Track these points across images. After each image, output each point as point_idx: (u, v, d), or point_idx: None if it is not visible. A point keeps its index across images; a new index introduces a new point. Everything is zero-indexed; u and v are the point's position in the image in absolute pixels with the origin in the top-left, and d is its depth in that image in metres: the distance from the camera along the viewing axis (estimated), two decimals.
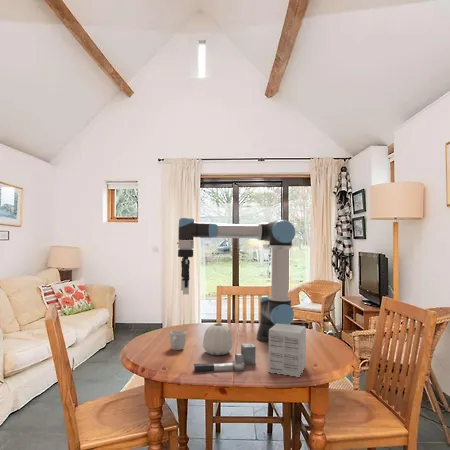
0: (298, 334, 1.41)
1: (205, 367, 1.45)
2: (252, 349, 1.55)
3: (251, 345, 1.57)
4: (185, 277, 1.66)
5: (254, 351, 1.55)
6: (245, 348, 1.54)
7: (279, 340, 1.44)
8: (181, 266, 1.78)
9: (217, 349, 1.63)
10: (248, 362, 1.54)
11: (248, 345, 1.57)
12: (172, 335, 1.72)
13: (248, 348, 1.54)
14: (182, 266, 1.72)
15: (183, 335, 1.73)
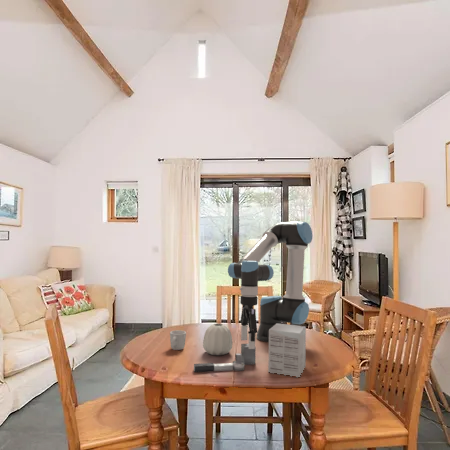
0: (298, 334, 1.41)
1: (205, 367, 1.45)
2: (252, 349, 1.55)
3: None
4: (253, 330, 1.47)
5: (254, 351, 1.55)
6: (245, 348, 1.54)
7: (279, 340, 1.44)
8: (243, 314, 1.60)
9: (217, 349, 1.63)
10: (248, 362, 1.54)
11: (248, 345, 1.57)
12: (172, 335, 1.72)
13: (248, 348, 1.54)
14: (247, 316, 1.54)
15: (183, 335, 1.73)
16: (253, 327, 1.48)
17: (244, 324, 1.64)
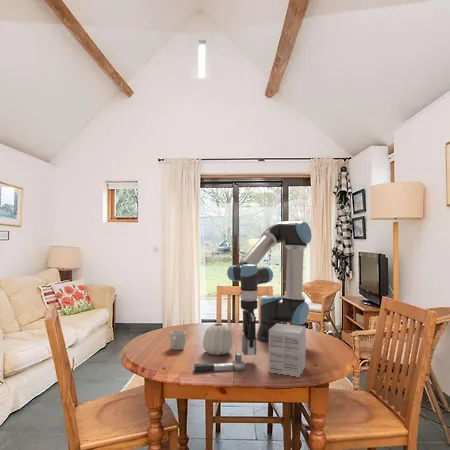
0: (298, 334, 1.41)
1: (205, 367, 1.45)
2: None
3: None
4: (251, 338, 1.51)
5: (255, 341, 1.55)
6: (246, 339, 1.55)
7: (279, 340, 1.44)
8: (244, 319, 1.59)
9: (217, 349, 1.63)
10: None
11: None
12: (172, 335, 1.72)
13: None
14: (246, 321, 1.55)
15: (183, 335, 1.73)
16: (252, 335, 1.51)
17: (247, 333, 1.61)
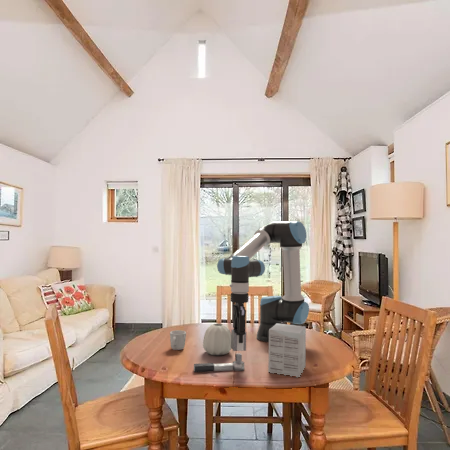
0: (298, 334, 1.41)
1: (205, 367, 1.45)
2: None
3: None
4: (241, 332, 1.43)
5: (245, 337, 1.47)
6: (235, 333, 1.46)
7: (279, 340, 1.44)
8: (234, 313, 1.51)
9: (217, 349, 1.63)
10: None
11: None
12: (172, 335, 1.72)
13: None
14: (236, 315, 1.47)
15: (183, 335, 1.73)
16: (241, 329, 1.43)
17: (237, 328, 1.53)
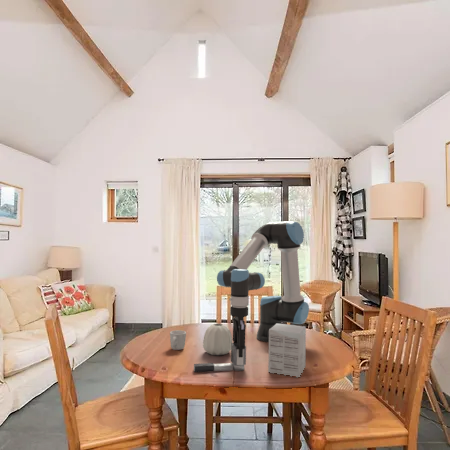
0: (298, 334, 1.41)
1: (205, 367, 1.45)
2: None
3: None
4: (240, 347, 1.43)
5: (244, 351, 1.47)
6: (235, 347, 1.46)
7: (279, 340, 1.44)
8: (234, 327, 1.51)
9: (217, 349, 1.63)
10: None
11: None
12: (172, 335, 1.72)
13: None
14: (236, 329, 1.47)
15: (183, 335, 1.73)
16: (241, 344, 1.43)
17: (237, 342, 1.52)
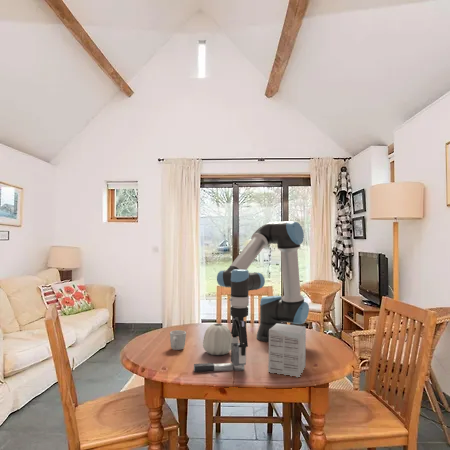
0: (298, 334, 1.41)
1: (205, 367, 1.45)
2: None
3: None
4: (243, 344, 1.40)
5: None
6: (235, 347, 1.46)
7: (279, 340, 1.44)
8: (233, 325, 1.52)
9: (217, 349, 1.63)
10: (238, 362, 1.46)
11: (238, 344, 1.49)
12: (172, 335, 1.72)
13: (238, 347, 1.46)
14: (237, 328, 1.46)
15: (183, 335, 1.73)
16: (243, 341, 1.40)
17: (235, 336, 1.56)
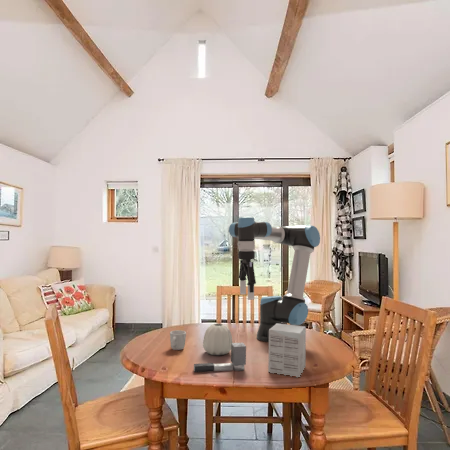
0: (298, 334, 1.41)
1: (205, 367, 1.45)
2: (242, 349, 1.47)
3: (241, 344, 1.49)
4: (251, 281, 1.53)
5: (244, 351, 1.47)
6: (235, 347, 1.46)
7: (279, 340, 1.44)
8: (241, 269, 1.66)
9: (217, 349, 1.63)
10: (238, 362, 1.46)
11: (238, 344, 1.49)
12: (172, 335, 1.72)
13: (238, 347, 1.46)
14: (245, 269, 1.59)
15: (183, 335, 1.73)
16: (252, 278, 1.54)
17: (242, 279, 1.70)
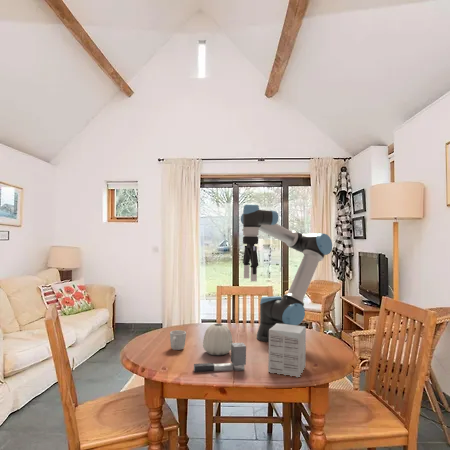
0: (298, 334, 1.41)
1: (205, 367, 1.45)
2: (242, 349, 1.47)
3: (241, 344, 1.49)
4: (254, 264, 1.63)
5: (244, 351, 1.47)
6: (235, 347, 1.46)
7: (279, 340, 1.44)
8: (245, 253, 1.76)
9: (217, 349, 1.63)
10: (238, 362, 1.46)
11: (238, 344, 1.49)
12: (172, 335, 1.72)
13: (238, 347, 1.46)
14: (249, 253, 1.70)
15: (183, 335, 1.73)
16: (255, 261, 1.64)
17: (246, 264, 1.80)
